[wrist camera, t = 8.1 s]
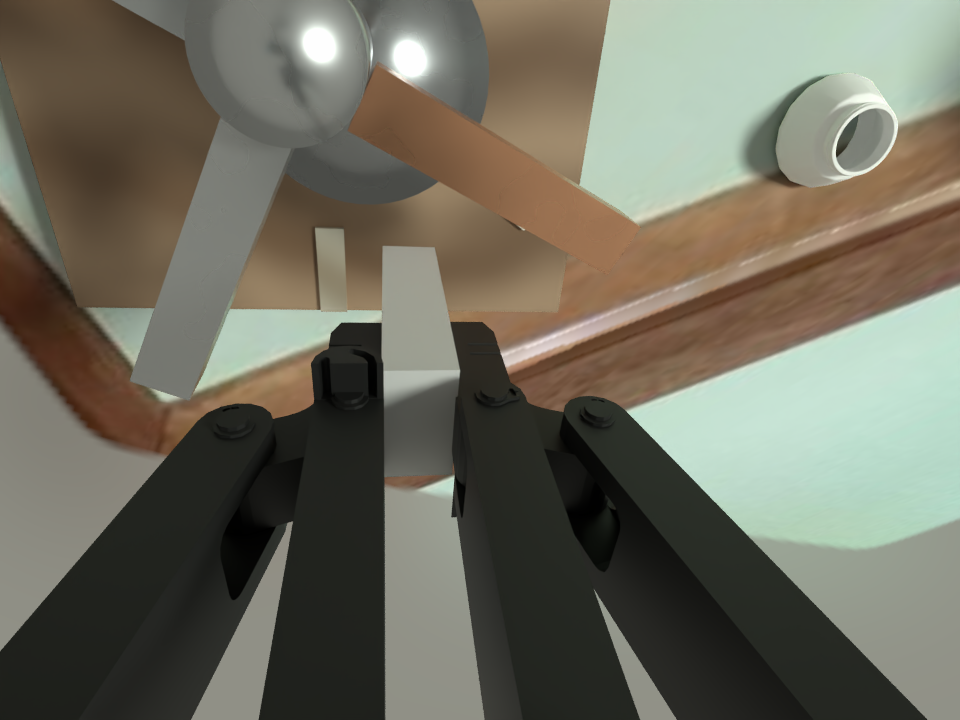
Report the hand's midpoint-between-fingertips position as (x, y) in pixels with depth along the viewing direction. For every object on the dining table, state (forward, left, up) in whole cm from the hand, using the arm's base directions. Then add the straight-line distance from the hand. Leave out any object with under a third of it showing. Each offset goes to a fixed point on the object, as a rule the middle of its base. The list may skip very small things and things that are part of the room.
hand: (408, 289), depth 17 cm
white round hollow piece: (-4, +20, -11) cm, 23 cm away
